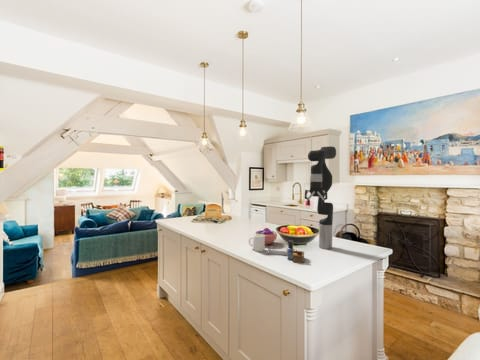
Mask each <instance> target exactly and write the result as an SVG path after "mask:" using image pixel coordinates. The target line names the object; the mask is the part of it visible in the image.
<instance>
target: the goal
mask: <svg viewBox="0 0 480 360" xmlns="http://www.w3.org/2000/svg"><path fill="white" fill-rule="evenodd" d="M294 253H296V254H298V255H293V258H292V263H298V264H305V251H301V250H297V251H296V250H295V251H294Z"/></svg>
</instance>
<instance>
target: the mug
mask: <svg viewBox="0 0 480 360" xmlns="http://www.w3.org/2000/svg"><path fill="white" fill-rule="evenodd" d="M248 238H249V239H248V244H249V246H250V247H252V251H254V252H263V251H265V249H266V248H265V247H266V246H265V245H266V244H265V235H262V234H256V233H255V234H253V235H252V236H250V237H248ZM251 240H252V241H251Z"/></svg>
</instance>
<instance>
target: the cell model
mask: <svg viewBox="0 0 480 360" xmlns="http://www.w3.org/2000/svg"><path fill="white" fill-rule="evenodd" d="M255 234H262V235H265V245H271V244H273V243H274V242H275V241H276V240H277V237H278V233H277V232H276V231H274V230H271V229H270V228H269V227H265V228H263V230H257V231H255Z"/></svg>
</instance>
